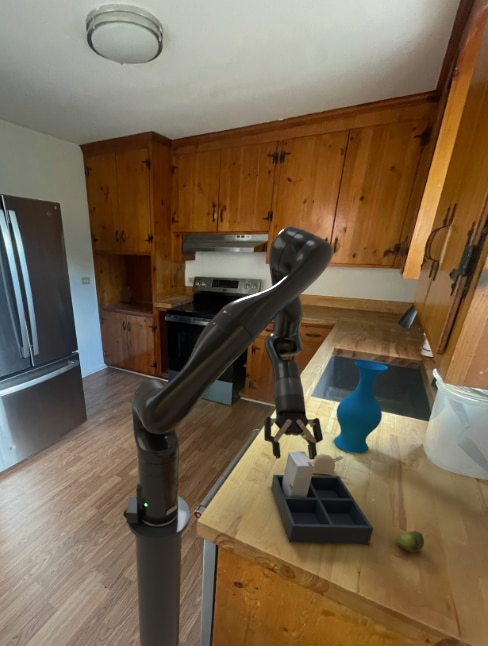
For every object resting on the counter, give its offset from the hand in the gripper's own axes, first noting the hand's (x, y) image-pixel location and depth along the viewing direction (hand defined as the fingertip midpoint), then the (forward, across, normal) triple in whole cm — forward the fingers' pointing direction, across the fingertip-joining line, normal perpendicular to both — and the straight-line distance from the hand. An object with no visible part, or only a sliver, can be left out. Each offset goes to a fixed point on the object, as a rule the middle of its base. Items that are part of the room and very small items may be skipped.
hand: (295, 458), depth 82 cm
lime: (+20, +20, -4) cm, 29 cm away
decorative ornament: (+1, +12, +14) cm, 19 cm away
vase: (-9, +26, +24) cm, 37 cm away
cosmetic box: (+9, 0, +4) cm, 10 cm away
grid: (+13, +4, +2) cm, 13 cm away
